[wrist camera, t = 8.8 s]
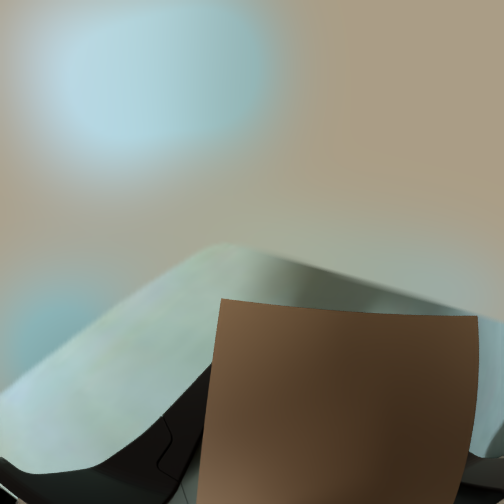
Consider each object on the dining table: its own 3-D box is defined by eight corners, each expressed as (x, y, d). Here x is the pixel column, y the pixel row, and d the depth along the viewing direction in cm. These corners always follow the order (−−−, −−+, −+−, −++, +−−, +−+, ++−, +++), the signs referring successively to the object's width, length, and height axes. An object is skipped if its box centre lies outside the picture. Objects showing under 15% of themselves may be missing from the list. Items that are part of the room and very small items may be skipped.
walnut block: (300, 428, 14) (441, 530, 2) (226, 423, 14) (191, 565, 2) (308, 359, 15) (477, 316, 3) (235, 352, 15) (221, 298, 3)
